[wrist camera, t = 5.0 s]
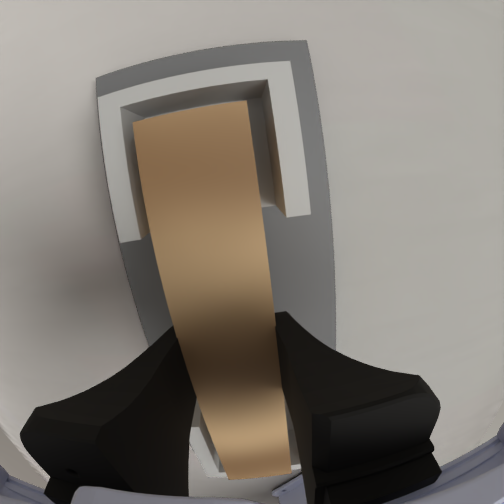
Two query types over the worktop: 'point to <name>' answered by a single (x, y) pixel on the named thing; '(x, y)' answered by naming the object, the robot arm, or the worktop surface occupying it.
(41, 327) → the worktop surface
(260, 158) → the bracket board
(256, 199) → the rail
